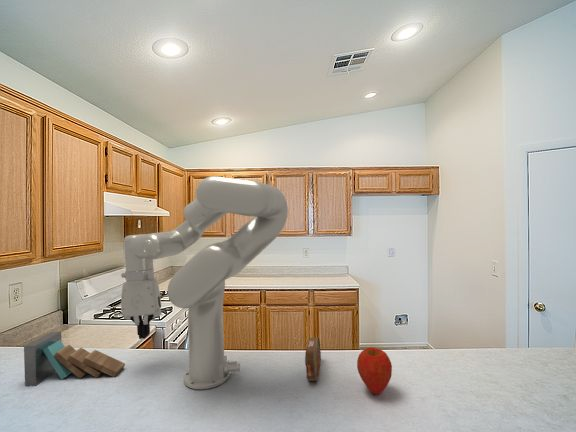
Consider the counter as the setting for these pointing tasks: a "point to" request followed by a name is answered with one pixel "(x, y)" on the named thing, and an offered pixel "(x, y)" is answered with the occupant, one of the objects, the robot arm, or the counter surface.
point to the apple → (374, 369)
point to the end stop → (39, 359)
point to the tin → (313, 359)
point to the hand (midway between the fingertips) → (144, 337)
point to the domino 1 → (57, 365)
